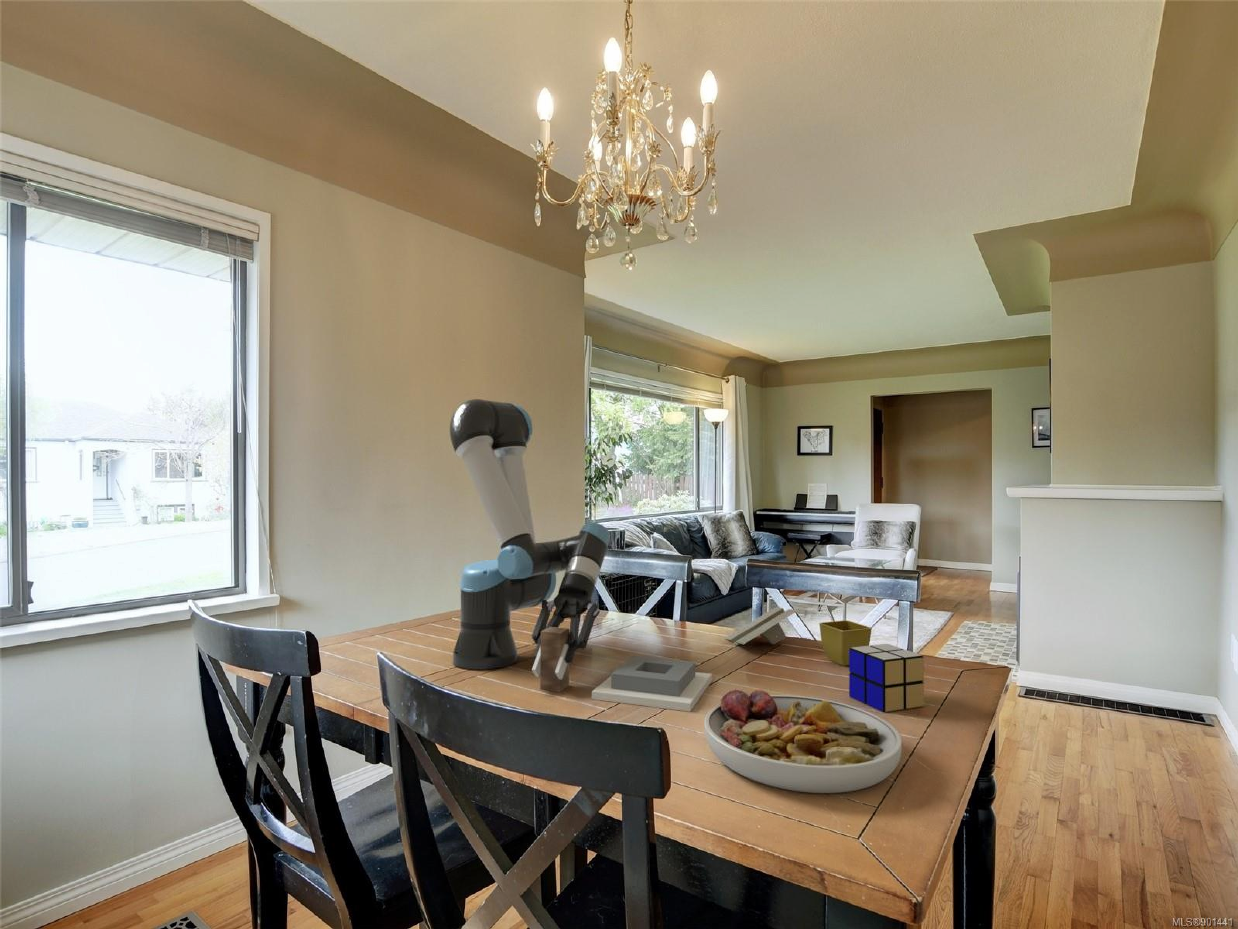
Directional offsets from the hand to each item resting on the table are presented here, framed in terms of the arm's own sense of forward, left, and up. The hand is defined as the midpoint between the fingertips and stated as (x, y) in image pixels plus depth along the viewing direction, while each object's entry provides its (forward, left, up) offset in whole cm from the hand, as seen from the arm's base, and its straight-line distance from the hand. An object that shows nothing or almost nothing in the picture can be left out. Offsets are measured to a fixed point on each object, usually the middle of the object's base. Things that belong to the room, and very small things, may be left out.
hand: (547, 674), depth 135 cm
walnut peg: (0, +4, -4) cm, 5 cm away
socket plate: (+20, +10, -4) cm, 23 cm away
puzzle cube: (+65, +19, -4) cm, 68 cm away
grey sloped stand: (+36, +55, -4) cm, 65 cm away
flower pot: (+57, +45, -4) cm, 73 cm away
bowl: (+51, -13, -4) cm, 53 cm away
